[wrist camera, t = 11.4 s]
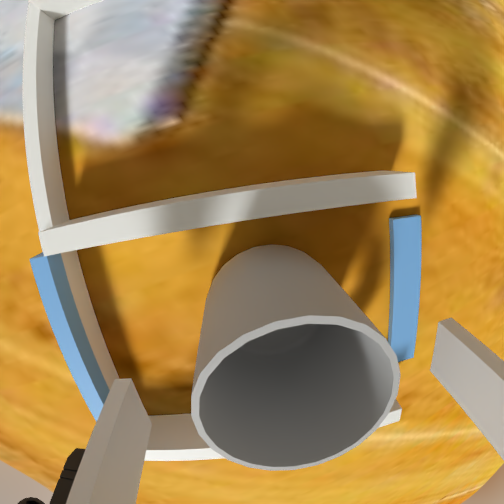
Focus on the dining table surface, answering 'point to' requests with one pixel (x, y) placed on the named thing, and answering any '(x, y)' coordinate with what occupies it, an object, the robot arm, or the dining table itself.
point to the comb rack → (172, 220)
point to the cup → (287, 364)
